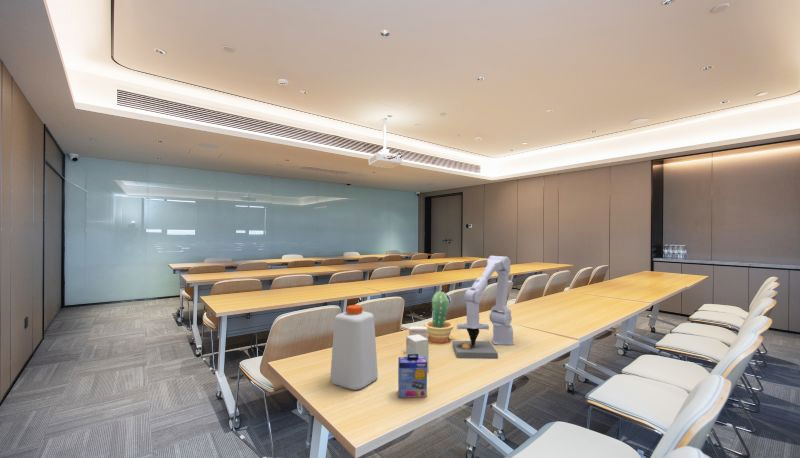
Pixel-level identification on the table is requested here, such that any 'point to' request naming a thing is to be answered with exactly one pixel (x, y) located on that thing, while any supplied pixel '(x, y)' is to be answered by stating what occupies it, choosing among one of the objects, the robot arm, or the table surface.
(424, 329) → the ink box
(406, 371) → the ink cartridge box
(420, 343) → the small box
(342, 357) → the plastic bottle
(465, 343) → the ball
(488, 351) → the hole board
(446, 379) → the table surface
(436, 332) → the potted cactus
